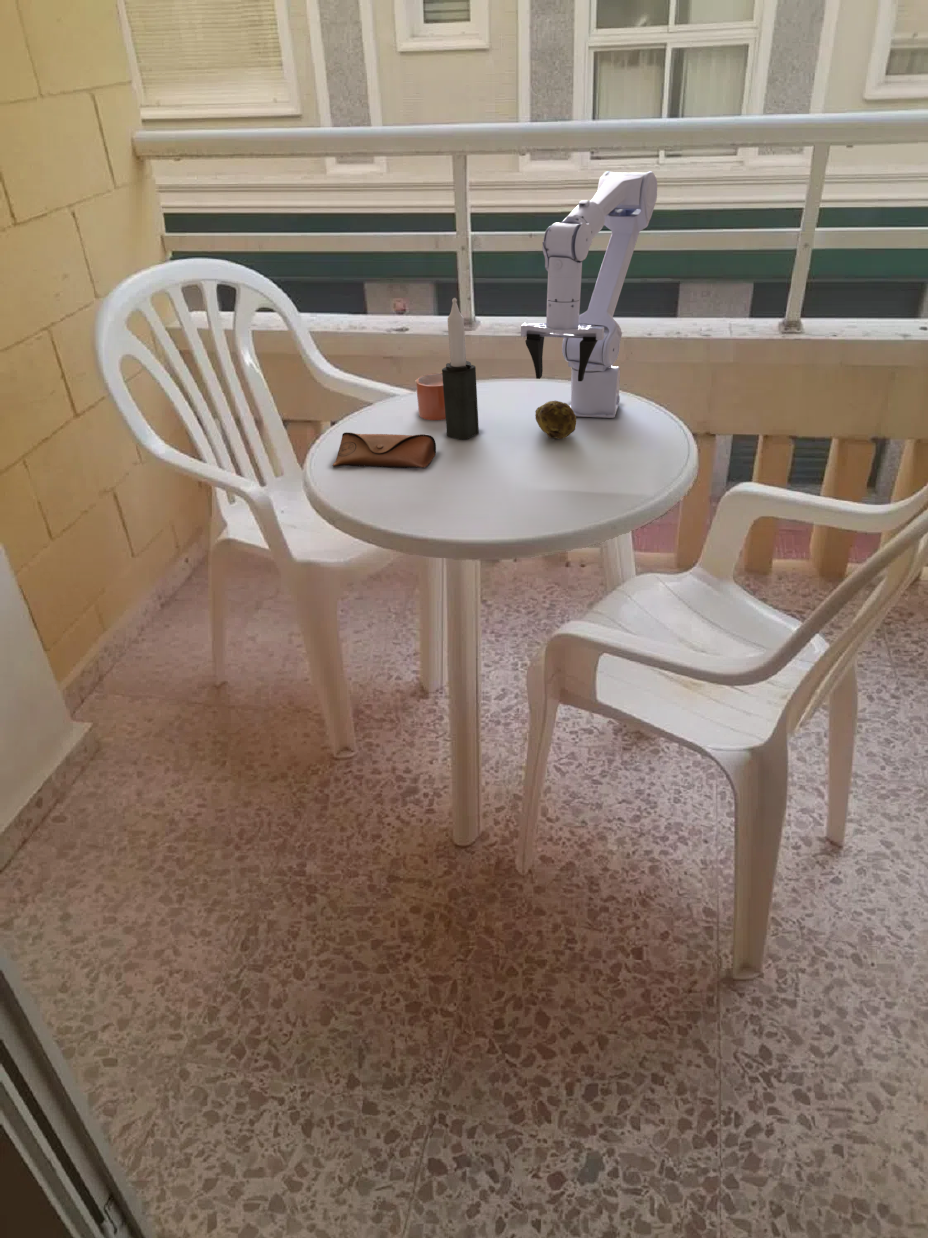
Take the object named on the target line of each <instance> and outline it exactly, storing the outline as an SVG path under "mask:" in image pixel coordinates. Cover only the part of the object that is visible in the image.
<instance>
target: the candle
mask: <svg viewBox="0 0 928 1238" xmlns="http://www.w3.org/2000/svg"><path fill="white" fill-rule="evenodd" d="M451 302H452V304H451V308H450V313H449V315H448V316H447V331H448V349H449V360H450V361H449V362H446V364H445V367H443V368H442V369H441V373H442V377H443V391H444V404H445V418H446V419H445V428H446V429H445V431H446V436H447V437H448V438H451V439H457V440H459V441H460V440H461V441H466V440H469V439H470V438H472V437H474V436H475V435H479V433H480V429H479V428H480V427H479V425H480V424H479V412H478V411H479V409H478V408H479V407H478V406H479V405H478V389H477V370H476V369H477V368H476V366H475V365H474V364H472V363H471V362H470V361H469V360H467V350H466V334H465V333H466V332H465V318H464V316H463V314H462V313H461V312H460V309H459V305H458V299H457V298H456V297H453V298H452V300H451Z"/></svg>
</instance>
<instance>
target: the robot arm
mask: <svg viewBox="0 0 928 1238" xmlns="http://www.w3.org/2000/svg"><path fill="white" fill-rule="evenodd" d="M657 200H658V179H657V176H656V174H655V172H653V171H647V172H625V171H624V172H623V171H622V172H620V171H619V172H618V171H616V172H615V171H614V172H613V171H610V170H609V171H607V170H606V171H604V172H603V174H602V175H601V176H600V177H599V180H598V184H597V191H596V193H595V194H594V195H593V197H592V198H591V200H589V199H581V200H580V201H579V202H578V205H576V207H574V208H573V210H572V211H571V212H570V213H569V214H568V215H567V216H566V217H565V218H564V219H563V220H562V221H561V222H554V223H552V224H551V225H549V226H548V227H547V228H546V230H545V231H544V235H543V241H542V244H541V245H542V254H543V256H544V268H545V270H546V271H547V287H546V288H547V290H546V314H545V315H546V316H545V317H546V318H545V319H546V320H545V322H539V323H538V322H537V323H535V322H533V323H531V322H530V323H526V322H524V323H522V324H521V325H520V337H526V339H525V345H526V347H527V350H528V352H529V354H530V357H531V360H532V363H533V367H534V372H535V379H536V380H540V379H541V378H542V377H543V369H544V368H543V355H544V344H545V343H544V342H545V338H561V339H562V338H563V339H562V342H561V354H562V357H563V359H564V360H565V362H567V367H569V368H571V373H570V375H571V376H570V378H571V379H570V404H569V406H570V407H571V408H572V410H573V412H574V414H575V416H576V417H580V418H581V417H583V418H606V419H614V418H615V417H616V414H617V411H618V409H619V406H620V400H621V396H620V388H621V387H620V386H621V385H620V383H621V367H620V366H615V365H614V364H615V363H616V361H617V360H618V357H619V354H620V349H621V340H622V337H623V333H622V328H621V327H620V324H618V322H617V321H616V320H615V318H613V317H614V315H615V311H616V308H617V305H618V301H619V297H620V295H621V292H622V289H623V285H624V283H625V279H626V276H627V273H628V270H629V267H630V264H631V260H632V257H633V254H634V251H635V247H636V243H637V241H638V238H639V235H640V232H641V231H644V229H646V228H647V227H648V226H649V224H650V220H651V219H652V216H653V212H654V210H655V207H656V202H657ZM604 227H606V228H607V229H608V230H610V231H611V234H610V236H609V240H608V243H607V247H606V250H605V254H604V257H603V259H602V263H601V266H600V269H599V272H598V275H597V279H596V282H595V285H594V288H593V291H592V294H591V298H590V301H589V304H588V307H587V310H586V311H584V312H583V313H580V311H581V310H580V307H581V290H582V289H581V288H582V273H583V272H582V271H583V261H584V260H586V259H587V256H588V254H589V251H590V248H591V246H592V243H593V239H594V238H595V237H596V236H597V235H598V234H599V233H600V231H601V230H602V229H603V228H604ZM613 365H614V366H613Z"/></svg>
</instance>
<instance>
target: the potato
mask: <svg viewBox="0 0 928 1238" xmlns="http://www.w3.org/2000/svg"><path fill="white" fill-rule="evenodd" d="M535 421H536V423H537V425H538V427H539V429H540V430H541V431H542V432H543V433H544V434H546V435H547V437H548V438H549V439H557V440H558V439H559V440H563V439H566V438H567V437H569V436H570V435H571V434H573V433H574V432H575V430H576V427H577V416H575V414H574V412H573V410H572V408H571V407H570V404H568V403H567V402H562V401H558V400H549V401H546V402H545V403H544V404H542V405H540V406H538V407H537V408H536V410H535Z"/></svg>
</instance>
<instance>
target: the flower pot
mask: <svg viewBox="0 0 928 1238" xmlns="http://www.w3.org/2000/svg"><path fill="white" fill-rule="evenodd" d="M415 386H416V387H415V388H416V398H417V399H416V400H417V409H418V410H417V411H418V417H420V418H421V419H423V420H426V421H427V420H428V421H444V420H446V418H445V404H444V391H443V377H442V372H434V373H433V372H431V373H427V374H424V375H420V376H419V377H417V378H416V380H415Z"/></svg>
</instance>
